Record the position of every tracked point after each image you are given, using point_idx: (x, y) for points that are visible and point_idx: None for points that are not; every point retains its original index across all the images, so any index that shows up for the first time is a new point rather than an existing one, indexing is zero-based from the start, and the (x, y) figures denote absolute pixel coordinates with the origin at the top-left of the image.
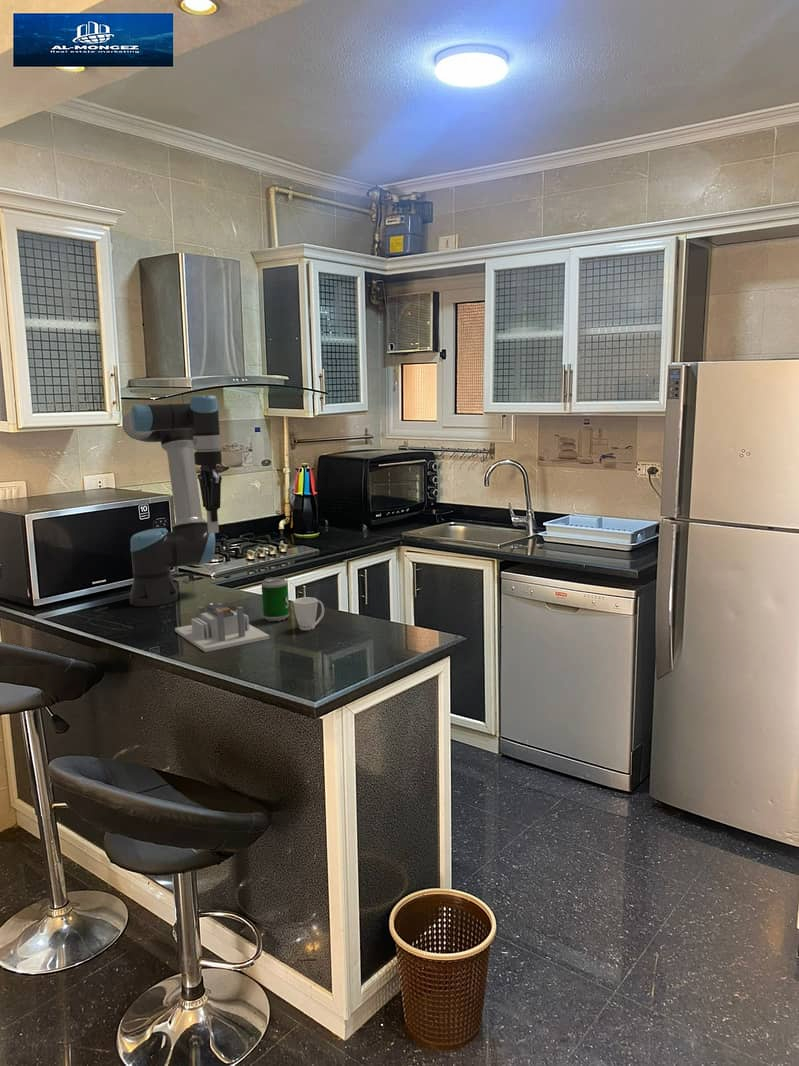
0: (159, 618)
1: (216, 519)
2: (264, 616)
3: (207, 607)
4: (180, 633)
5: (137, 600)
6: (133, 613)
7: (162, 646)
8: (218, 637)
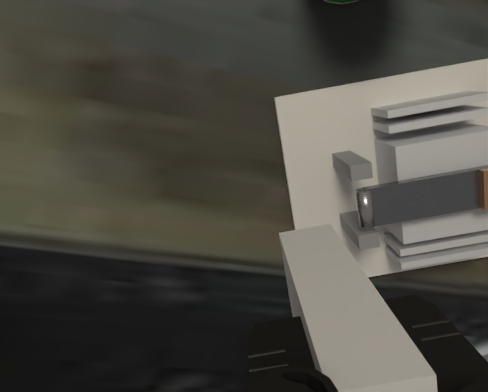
0: (129, 306)
1: (436, 318)
2: (346, 2)
3: (390, 221)
4: None
5: None
6: (30, 365)
7: None
8: None
